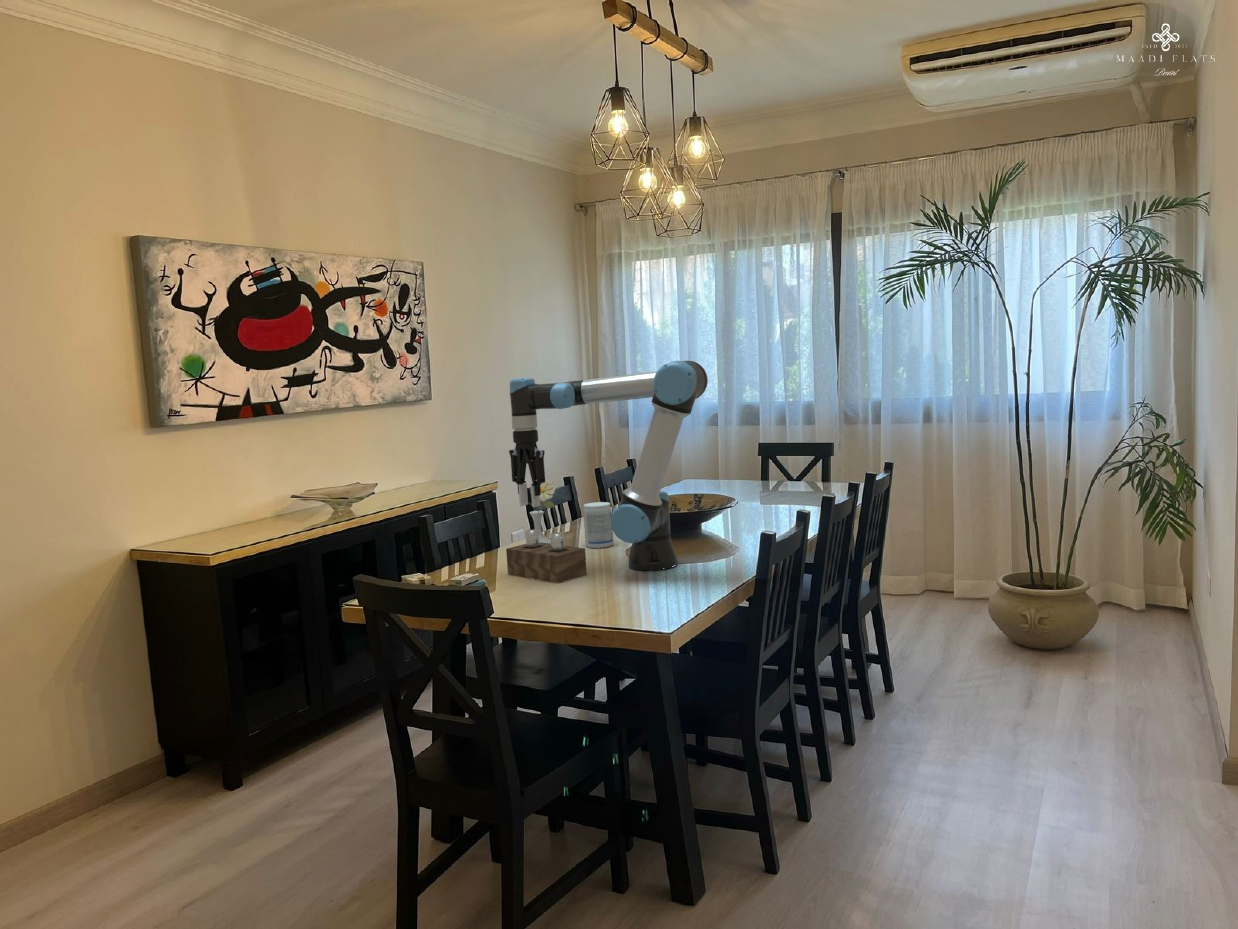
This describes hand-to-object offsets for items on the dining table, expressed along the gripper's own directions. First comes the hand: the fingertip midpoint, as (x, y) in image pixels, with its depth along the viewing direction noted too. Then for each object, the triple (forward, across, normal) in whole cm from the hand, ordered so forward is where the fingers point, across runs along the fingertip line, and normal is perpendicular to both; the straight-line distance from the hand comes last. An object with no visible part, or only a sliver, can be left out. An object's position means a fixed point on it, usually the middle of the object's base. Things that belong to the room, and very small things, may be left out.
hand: (530, 505), depth 278 cm
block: (+21, -6, 0) cm, 21 cm away
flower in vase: (+21, +20, -22) cm, 37 cm away
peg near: (+16, -11, 0) cm, 19 cm away
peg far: (+16, 0, 0) cm, 16 cm away
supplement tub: (+21, +10, -39) cm, 45 cm away
